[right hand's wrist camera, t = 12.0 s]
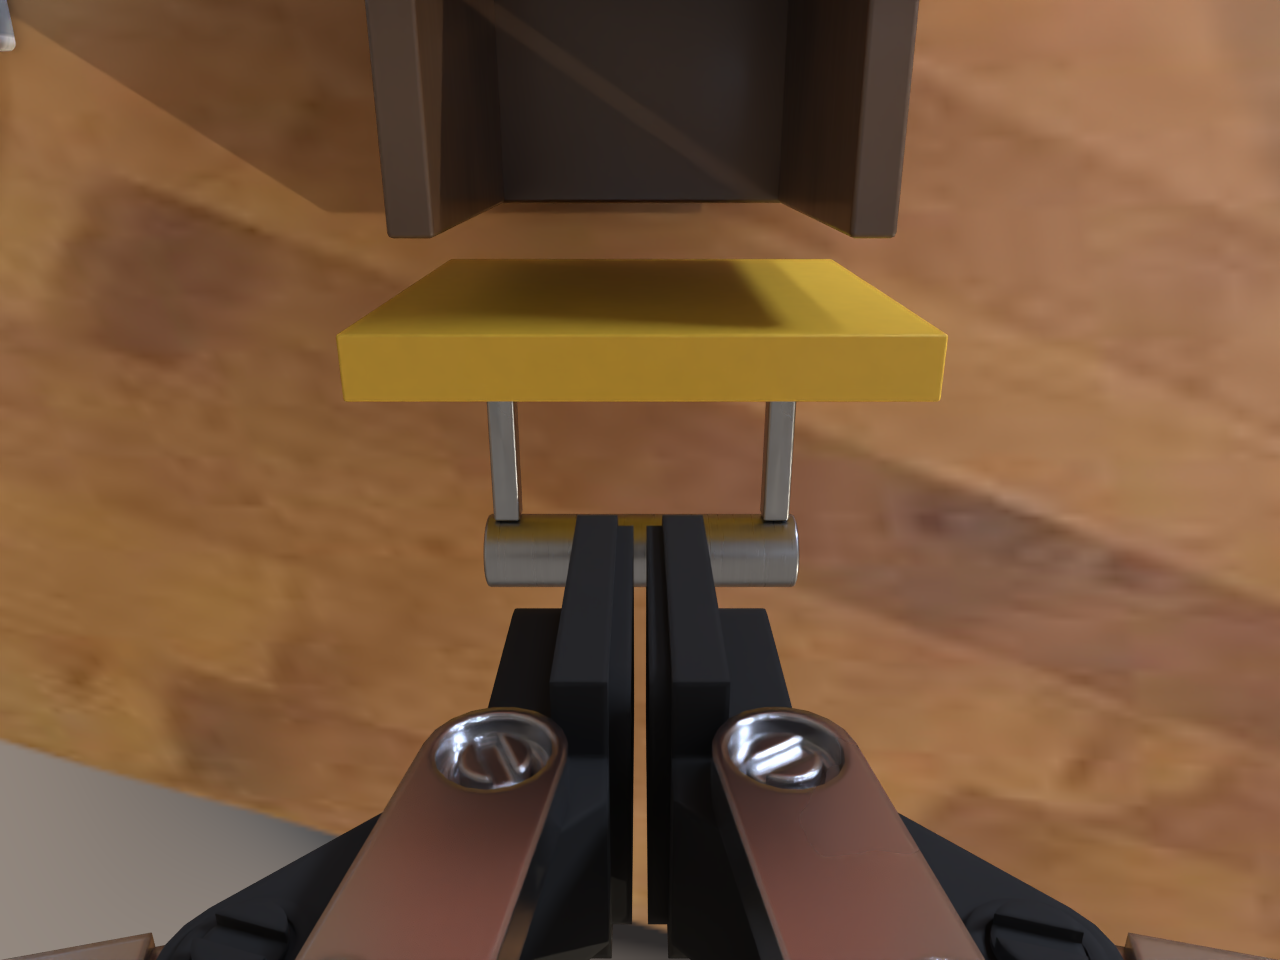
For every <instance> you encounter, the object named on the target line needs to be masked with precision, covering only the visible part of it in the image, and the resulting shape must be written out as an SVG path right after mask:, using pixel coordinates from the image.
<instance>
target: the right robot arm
mask: <svg viewBox="0 0 1280 960" xmlns="http://www.w3.org/2000/svg"><path fill="white" fill-rule="evenodd" d="M633 771H634V527H633V526H618V515H577V519H576V525H575V531H574V537H573V543H572V549H571V555H570V561H569V567H568V573H567V579H566V585H565V591H564V598H563V604H562V608H517V609H515V610H514V613H513V616H512V619H511V623H510V627H509V631H508V634H507V638H506V642H505V646H504V649H503V653H502V657H501V661H500V664H499V668H498V672H497V676H496V679H495V683H494V687H493V691H492V695H491V698H490V702H489V706H488V708H486V709H481V710H475V711H471V712H468V713H466V714H463V715H461V716H458V717H455V718H453V719H451V720H449V721H448V722H446V723H445V724H443V725H442V726H440V727H439V728H437V729H436V730H435V731H434V732H433V733H432V734H431V735H430V737H429V738H428V739H427V740H426V741H425V742H424V744H423V745H422V747H421V749H420V750H419V752H418V754H417V755H416V757H415V759H414V760H413V762H412V764H411V765H410V767H409V769H408V771H407V772H406V774H405V776H404V777H403V779H402V781H401V782H400V784H399V786H398V787H397V789H396V791H395V792H394V794H393V796H392V797H391V799H390V801H389V802H388V804H387V806H386V807H385V809H384V811H383V812H382V813H381V814H379V815H377V816H375V817H373V818H372V819H370V820H368V821H366V822H364V823H363V824H361V825H359V826H357V827H355V828H354V829H352V830H350V831H348V832H346V833H344V834H343V835H341V836H339V837H337V838H335V839H334V840H332V841H330V842H328V843H327V844H325V845H323V846H321V847H319V848H317V849H316V850H314V851H312V852H310V853H308V854H307V855H305V856H303V857H301V858H299V859H298V860H296V861H294V862H292V863H290V864H288V865H287V866H285V867H283V868H281V869H279V870H278V871H276V872H274V873H272V874H270V875H269V876H267V877H265V878H263V879H261V880H259V881H258V882H256V883H254V884H252V885H250V886H249V887H247V888H245V889H243V890H241V891H240V892H238V893H236V894H234V895H232V896H231V897H229V898H227V899H225V900H223V901H221V902H220V903H218V904H216V905H214V906H212V907H211V908H209V909H208V910H206V911H205V912H203V913H202V914H200V915H199V916H197V917H196V918H194V919H193V920H191V921H190V922H188V923H187V924H186V925H184V926H183V927H182V928H181V929H180V930H179V931H178V932H177V933H176V934H175V936H174V937H173V938H172V939H171V940H170V941H169V942H168V943H167V944H166V945H163V946H158V947H155V944H154V940H153V936H152V933H147V934H141V935H136V936H130V937H125V938H120V939H114V940H108V941H103V942H97V943H92V944H86V945H81V946H75V947H70V948H65V949H59V950H53V951H48V952H42V953H37V954H32V955H26V956H20V957H15V958H9V959H4V960H589V959H591V958H612V929H613V924H632V868H633ZM646 771H647V868H648V924H667V930H668V958H689V959H691V960H1276V959H1271V958H1265V957H1260V956H1254V955H1249V954H1243V953H1238V952H1232V951H1227V950H1221V949H1216V948H1210V947H1205V946H1199V945H1194V944H1188V943H1183V942H1177V941H1172V940H1166V939H1161V938H1155V937H1150V936H1144V935H1139V934H1133V933H1128V936H1127V940H1126V944H1125V947H1122V946H1117V945H1114V944H1113V943H1112V942H1111V941H1110V940H1109V939H1108V938H1107V937H1106V935H1105V934H1104V933H1103V932H1102V931H1101V930H1100V929H1099V928H1098V927H1097V926H1096V925H1094V924H1093V923H1092V922H1090V921H1089V920H1087V919H1086V918H1084V917H1083V916H1081V915H1080V914H1078V913H1077V912H1075V911H1074V910H1072V909H1071V908H1069V907H1068V906H1066V905H1064V904H1062V903H1060V902H1059V901H1057V900H1055V899H1053V898H1051V897H1049V896H1048V895H1046V894H1044V893H1042V892H1040V891H1039V890H1037V889H1035V888H1033V887H1031V886H1030V885H1028V884H1026V883H1024V882H1022V881H1021V880H1019V879H1017V878H1015V877H1013V876H1011V875H1010V874H1008V873H1006V872H1004V871H1002V870H1001V869H999V868H997V867H995V866H993V865H992V864H990V863H988V862H986V861H984V860H983V859H981V858H979V857H977V856H975V855H974V854H972V853H970V852H968V851H966V850H964V849H963V848H961V847H959V846H957V845H955V844H954V843H952V842H950V841H948V840H946V839H945V838H943V837H941V836H939V835H937V834H936V833H934V832H932V831H930V830H928V829H926V828H925V827H923V826H921V825H919V824H917V823H916V822H914V821H912V820H910V819H908V818H907V817H905V816H903V815H901V814H899V813H898V812H897V811H896V809H895V807H894V806H893V804H892V802H891V801H890V799H889V797H888V796H887V794H886V792H885V791H884V789H883V787H882V786H881V784H880V782H879V781H878V779H877V777H876V776H875V774H874V772H873V771H872V769H871V767H870V765H869V764H868V762H867V760H866V759H865V757H864V755H863V754H862V752H861V750H860V749H859V747H858V745H857V744H856V742H855V741H854V740H853V739H852V738H851V737H850V735H849V734H848V733H847V732H846V731H845V730H844V729H843V728H841V727H840V726H838V725H837V724H835V723H834V722H832V721H831V720H829V719H827V718H825V717H822V716H819V715H817V714H814V713H812V712H809V711H805V710H799V709H794V708H792V706H791V702H790V698H789V695H788V691H787V687H786V683H785V679H784V676H783V672H782V668H781V664H780V661H779V657H778V653H777V649H776V646H775V642H774V638H773V634H772V631H771V627H770V623H769V619H768V616H767V613H766V610H765V609H763V608H718V604H717V598H716V591H715V585H714V579H713V573H712V567H711V561H710V555H709V549H708V543H707V537H706V531H705V525H704V519H703V515H662V526H647V527H646Z"/></svg>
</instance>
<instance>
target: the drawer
mask: <svg viewBox="0 0 1280 960" xmlns="http://www.w3.org/2000/svg"><path fill="white" fill-rule="evenodd" d="M365 7H366V17H367V28H368V38H369V48H370V59H371V69H372V79H373V90H374V100H375V110H376V121H377V131H378V141H379V152H380V162H381V172H382V183H383V193H384V203H385V214H386V224H387V233H388V235H389V237H391V238H432V237H434V236H436V235H438V234H440V233H442V232H444V231H446V230H448V229H450V228H452V227H454V226H456V225H458V224H460V223H462V222H464V221H466V220H468V219H470V218H472V217H474V216H476V215H478V214H480V213H482V212H484V211H486V210H488V209H491V208H493V207H495V206H497V205H499V204H501V203H782V204H784V205H787V206H789V207H791V208H793V209H795V210H797V211H799V212H801V213H803V214H805V215H807V216H809V217H811V218H813V219H815V220H817V221H820V222H822V223H824V224H826V225H828V226H830V227H832V228H834V229H836V230H838V231H840V232H842V233H844V234H846V235H848V236H850V237H853V238H892V237H894V236H895V234H896V232H897V222H898V211H899V201H900V191H901V181H902V171H903V161H904V150H905V140H906V130H907V120H908V110H909V100H910V89H911V79H912V69H913V59H914V49H915V39H916V29H917V18H918V8H919V0H365ZM947 341H948V336H947V334H945V333H943V332H942V331H940V330H939V329H937V328H936V327H934V326H933V325H931V324H930V323H928V322H927V321H925V320H924V319H922V318H920V317H919V316H917V315H916V314H914V313H913V312H911V311H910V310H908V309H907V308H905V307H904V306H902V305H901V304H899V303H897V302H896V301H894V300H893V299H891V298H890V297H888V296H887V295H885V294H884V293H882V292H881V291H879V290H878V289H876V288H874V287H873V286H871V285H870V284H868V283H867V282H865V281H864V280H862V279H861V278H859V277H858V276H856V275H855V274H853V273H852V272H850V271H848V270H847V269H845V268H844V267H842V266H841V265H839V264H838V263H836V262H835V261H833V260H831V259H451V260H449V261H448V262H446V263H445V264H443V265H442V266H440V267H439V268H437V269H436V270H434V271H433V272H431V273H430V274H428V275H427V276H425V277H424V278H422V279H420V280H419V281H417V282H416V283H414V284H413V285H411V286H410V287H408V288H407V289H405V290H404V291H402V292H401V293H399V294H398V295H396V296H395V297H393V298H392V299H390V300H389V301H387V302H386V303H384V304H383V305H381V306H380V307H378V308H377V309H375V310H374V311H372V312H371V313H369V314H368V315H366V316H364V317H363V318H361V319H360V320H358V321H357V322H355V323H354V324H352V325H351V326H349V327H348V328H346V329H345V330H343V331H342V332H340V333H339V334H337V335H336V342H337V350H338V359H339V367H340V375H341V383H342V392H343V399H344V401H347V402H487V413H488V428H489V444H490V460H491V476H492V492H493V508H494V514H491V515H489V517H488V519H487V523H486V527H485V535H484V571H485V577H486V581H487V584H488V585H489V586H490V587H565V585H566V579H567V573H568V567H569V561H570V555H571V549H572V543H573V537H574V531H575V525H576V519H577V515H618V526H633V527H634V587H646V527H647V526H662V515H703V519H704V525H705V531H706V537H707V543H708V549H709V555H710V561H711V567H712V573H713V579H714V585H715V587H792V586H794V585H795V583H796V580H797V576H798V569H799V536H798V528H797V523H796V520H795V517H794V516H793V515H791V514H789V506H790V490H791V474H792V459H793V443H794V428H795V412H796V402H937V401H940V398H941V389H942V381H943V373H944V365H945V357H946V349H947ZM517 402H766V410H765V429H764V448H763V468H762V487H761V506H760V511H761V514H521V513H522V491H521V471H520V451H519V431H518V412H517Z"/></svg>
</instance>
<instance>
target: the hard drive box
mask: <svg viewBox="0 0 1280 960" xmlns="http://www.w3.org/2000/svg"><path fill="white" fill-rule="evenodd" d="M15 46H16V42H15V37H14V32H13V27H12V22H11V17H10V13H9V8H8V4H7V0H0V51H12V50H13V49H14V48H15Z"/></svg>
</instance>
